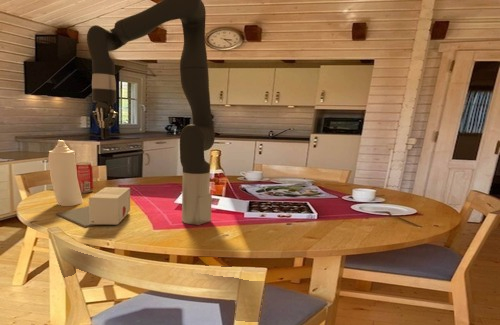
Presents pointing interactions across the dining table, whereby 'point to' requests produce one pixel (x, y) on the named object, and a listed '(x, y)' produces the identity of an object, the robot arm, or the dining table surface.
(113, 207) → the supplement box
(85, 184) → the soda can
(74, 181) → the white bottle
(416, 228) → the dining table surface
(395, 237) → the dining table surface
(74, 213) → the mat
